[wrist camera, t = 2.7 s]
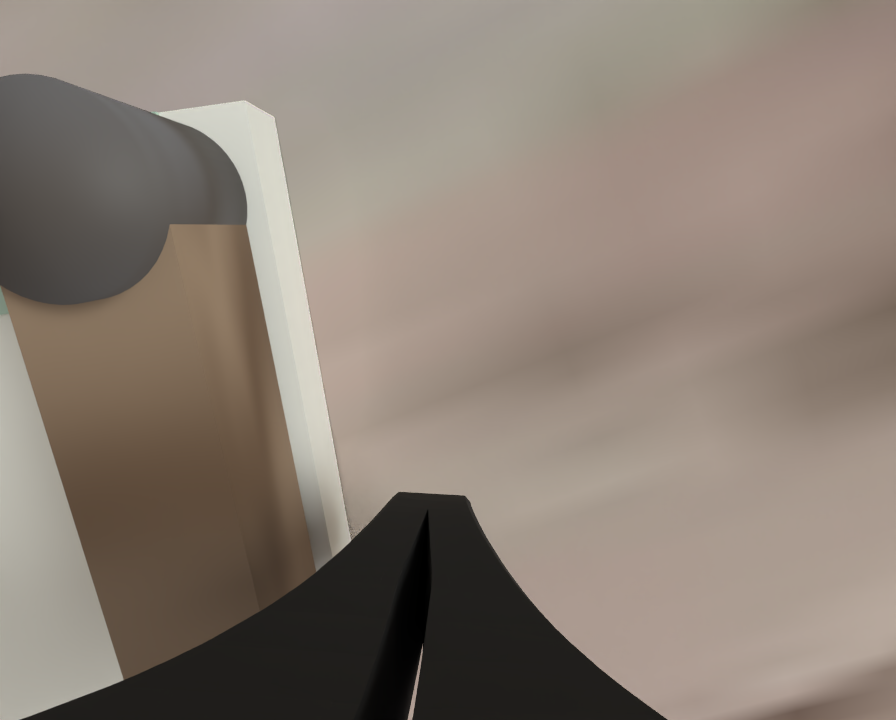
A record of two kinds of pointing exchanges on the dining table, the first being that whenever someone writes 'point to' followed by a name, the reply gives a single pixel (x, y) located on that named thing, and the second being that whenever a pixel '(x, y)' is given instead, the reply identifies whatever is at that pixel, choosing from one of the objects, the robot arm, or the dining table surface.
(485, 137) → the dining table surface
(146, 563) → the hammer
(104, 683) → the stool seat
